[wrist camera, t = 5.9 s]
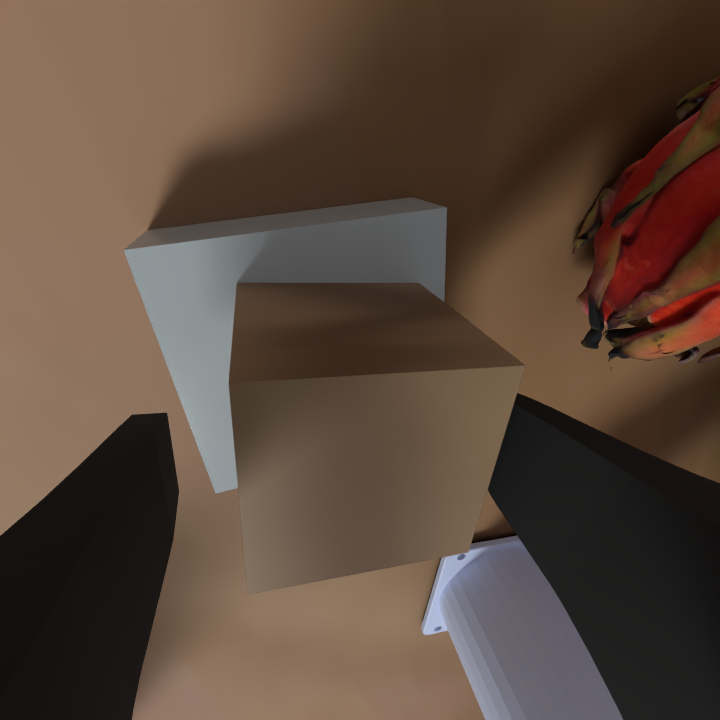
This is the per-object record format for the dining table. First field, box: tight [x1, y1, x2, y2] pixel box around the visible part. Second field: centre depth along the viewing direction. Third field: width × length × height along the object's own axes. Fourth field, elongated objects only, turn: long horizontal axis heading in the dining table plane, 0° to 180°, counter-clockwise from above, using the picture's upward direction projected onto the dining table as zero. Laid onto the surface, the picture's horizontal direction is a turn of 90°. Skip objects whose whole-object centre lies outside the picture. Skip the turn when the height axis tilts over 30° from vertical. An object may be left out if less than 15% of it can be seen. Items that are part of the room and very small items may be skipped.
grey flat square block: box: [124, 197, 447, 493], centre depth 13 cm, size 8×8×3 cm
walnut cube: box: [228, 283, 525, 595], centre depth 10 cm, size 5×5×5 cm
